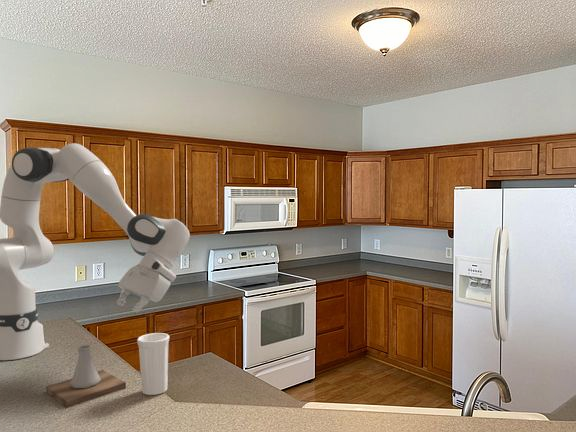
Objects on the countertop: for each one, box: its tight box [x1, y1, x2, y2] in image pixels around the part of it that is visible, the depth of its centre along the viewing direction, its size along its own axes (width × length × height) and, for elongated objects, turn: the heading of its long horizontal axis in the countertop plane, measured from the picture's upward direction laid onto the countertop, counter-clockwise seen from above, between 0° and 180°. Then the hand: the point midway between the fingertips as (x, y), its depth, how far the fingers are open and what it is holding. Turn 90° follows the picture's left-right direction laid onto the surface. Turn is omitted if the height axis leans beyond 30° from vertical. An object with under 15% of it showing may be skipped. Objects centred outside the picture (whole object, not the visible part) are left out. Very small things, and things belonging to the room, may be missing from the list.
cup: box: [136, 332, 170, 396], centre depth 116 cm, size 8×8×14 cm
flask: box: [70, 344, 101, 388], centre depth 118 cm, size 7×7×10 cm
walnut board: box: [46, 369, 127, 408], centre depth 118 cm, size 14×15×2 cm
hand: (126, 307), depth 128 cm, fingers open, 8 cm apart
